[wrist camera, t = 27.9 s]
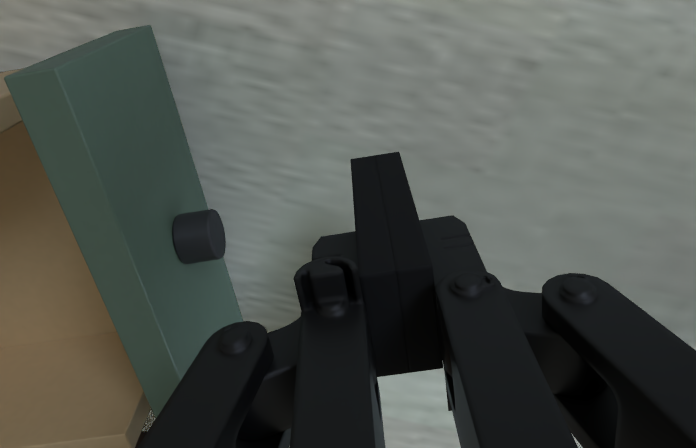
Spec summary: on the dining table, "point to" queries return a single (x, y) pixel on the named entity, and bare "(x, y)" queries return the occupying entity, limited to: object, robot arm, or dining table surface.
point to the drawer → (100, 247)
